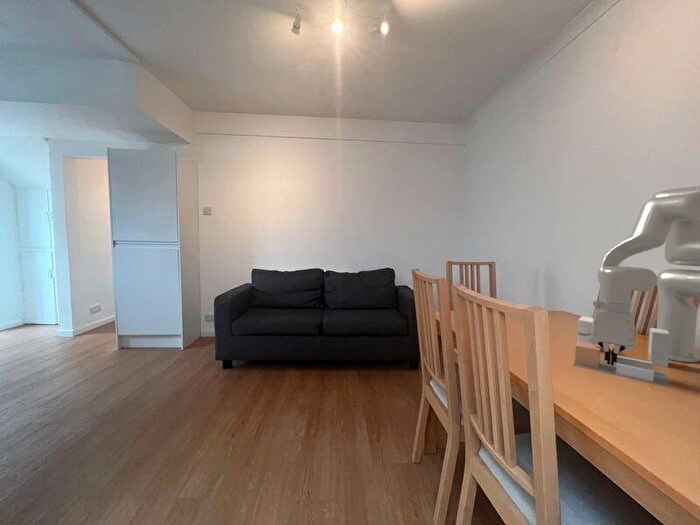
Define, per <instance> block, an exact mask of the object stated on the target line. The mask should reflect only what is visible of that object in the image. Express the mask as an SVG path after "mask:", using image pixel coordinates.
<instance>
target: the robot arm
mask: <svg viewBox="0 0 700 525" xmlns="http://www.w3.org/2000/svg"><path fill="white" fill-rule="evenodd" d="M663 245H664V260H665V261H666V262H667V263H668V264H671V265H674V266H675V265H676V266H686V267H688V266H689V267H700V185H696V186H688V187H678V188H670V189H666V190H661V191H658V192H656V193H654V194H653V196H652V197H651V198H650V199H648V200H646V201H645V202H644V203H643V204H642V206H641V209H640V212H639V214H638V217H637V218H636V221H635V223H634V225H633V227H632V231H631V233H630V235H629V236H628V238H626V239H624V240H622V241H620V242H619V243H618V244H616V245H615V246H614V247H612V248H611V249H610V250H609V251H608V252H607V253H606V254H605V256H604V258H603V259H602V261H601V264H600V266H599V270H598V272H597V280H598V283H599V295H598V298H599V299H598V301H596V300H595V301H592V305H593V306H595V307H597V308H596V309H595V310H594V314H593V317H592V318H593V323H592V333H591V336H592V337H591V339H590V341H591V342H592V343H595V344H596V345H599V346H600V348H601V349H603V352H604V360H603V361H607V364H608V365H609V364H610V362H611V365H613V366H614V363H617V356H618V355H619V353H620V352H622V351H625V350H627V351H628V350H630V351H631V350H632V351H633V350H636V346H635V335H636V334H635V332H636V325H635V318H634V313H632V312H631V303H632V292H639V293H642V292H648V291H651V290H653V289H654V288H655V287H656V288H657V294H658V305H657V306H658V307H657V317H656V318H657V321H656V329H664V330H667V331H668V332H669V334H670V342H669V357H668V360H671V361H677V362H682V363H700V356H699V355H697V354H695V342H696V341H695V340H696V332H697V331H696V330H697V316H698V309H697V307H696V305H695V303H694V302H693V301H692V300H691V299H690V298H692V299H693V298H694V299H700V270H696V269H686V268H685V269H683V268H682V269H681V268H668V269H664V270H662V271H660V272H659V273H658V274H656V273H655V271H653V270H652V269H649V268H645V267H634V266H632V267H631V266H623V265H621V264H622V262H624V261H625V260H626V259H627V258H630V257H632V256H634V255H637V254H642V253H644V252H647V251H651V250H654V249H658V248H660V247H661V246H663ZM620 265H621V266H620ZM610 345H614V347H613V348H612V350H611V348H610Z"/></svg>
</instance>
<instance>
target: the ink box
mask: <svg viewBox="0 0 700 525" xmlns="http://www.w3.org/2000/svg"><path fill="white" fill-rule="evenodd" d="M577 323H578V326H577V341H576V343H577V342H583V343H588V344H594V345H597V344H595V343H592V342H591V341H590V339H591V337H592V336H591V333H592V323H593V317H589V316H584V315H583V316H581V317H580V318H578V320H577Z"/></svg>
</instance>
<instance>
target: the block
mask: <svg viewBox="0 0 700 525" xmlns="http://www.w3.org/2000/svg"><path fill="white" fill-rule="evenodd" d="M574 354H575V356H574V361H575V363H576V364H581V365H585V366H590V367H594V368H598V367H599V360H601V359H600V358H601V347H600V346H599V345H598V344H596V345H594V344H588V343H583V342H577V341H576V344H575V353H574Z"/></svg>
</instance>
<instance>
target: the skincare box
mask: <svg viewBox="0 0 700 525" xmlns="http://www.w3.org/2000/svg"><path fill="white" fill-rule="evenodd" d="M669 342H670V334H669V332H668V331H667V330H664V329H657V327H656V328H655V327H649V335H648V349H647V350H648V352H647V353H648V354H647V361H648V362H652V366H659V367H665V368H668V367H669V359H668V357H669Z"/></svg>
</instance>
